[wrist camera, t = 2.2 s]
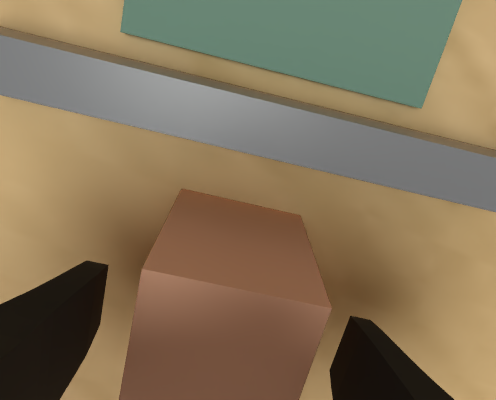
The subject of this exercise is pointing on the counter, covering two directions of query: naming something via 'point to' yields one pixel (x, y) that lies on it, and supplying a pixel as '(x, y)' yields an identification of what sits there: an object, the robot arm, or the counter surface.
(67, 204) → the counter surface
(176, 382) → the terracotta block
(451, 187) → the low wall
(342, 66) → the rubber mat
